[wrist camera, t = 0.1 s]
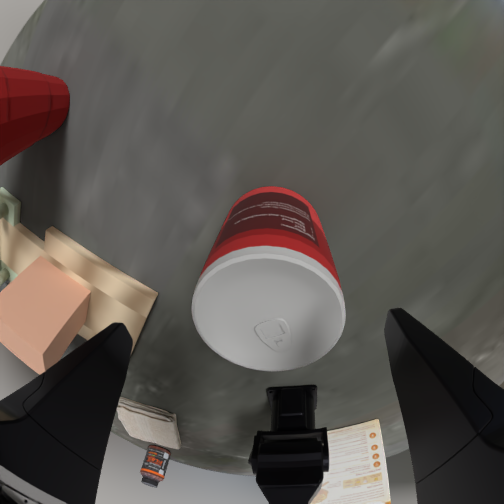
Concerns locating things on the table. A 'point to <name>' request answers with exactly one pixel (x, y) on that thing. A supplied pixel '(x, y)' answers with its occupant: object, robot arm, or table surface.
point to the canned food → (270, 285)
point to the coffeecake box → (355, 467)
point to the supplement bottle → (154, 465)
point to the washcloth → (149, 423)
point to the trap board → (74, 272)
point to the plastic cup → (29, 108)
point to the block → (41, 314)
